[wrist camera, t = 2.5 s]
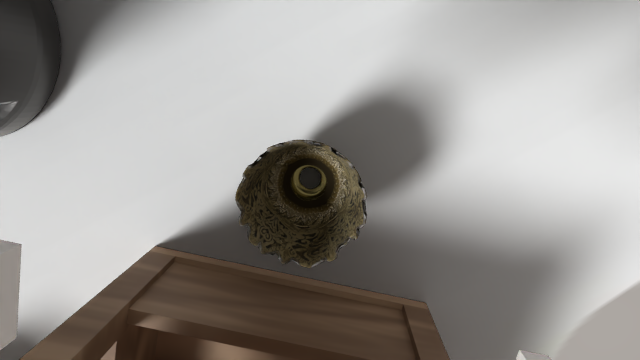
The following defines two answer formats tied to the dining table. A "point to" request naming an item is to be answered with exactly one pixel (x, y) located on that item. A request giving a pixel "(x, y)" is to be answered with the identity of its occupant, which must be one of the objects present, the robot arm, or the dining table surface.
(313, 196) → the cup
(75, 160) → the dining table surface
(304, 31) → the dining table surface
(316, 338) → the wooden slatted crate
